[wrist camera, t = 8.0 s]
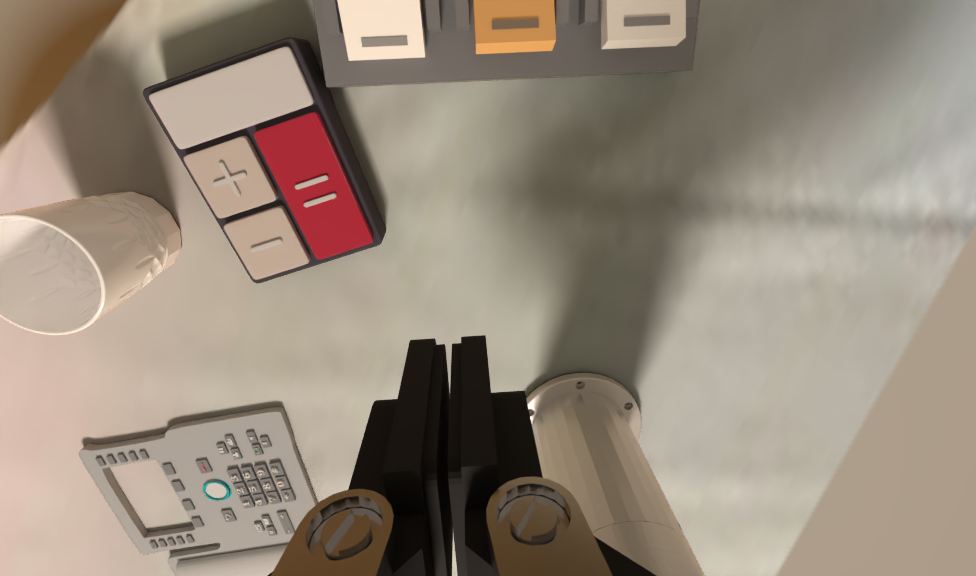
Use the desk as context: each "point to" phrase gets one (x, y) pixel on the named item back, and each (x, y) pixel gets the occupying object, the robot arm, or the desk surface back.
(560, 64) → the rocker switch panel
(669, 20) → the rocker
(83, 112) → the desk surface
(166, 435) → the office telephone
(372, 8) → the rocker
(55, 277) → the white cup
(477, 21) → the rocker middle
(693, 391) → the desk surface
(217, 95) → the calculator
